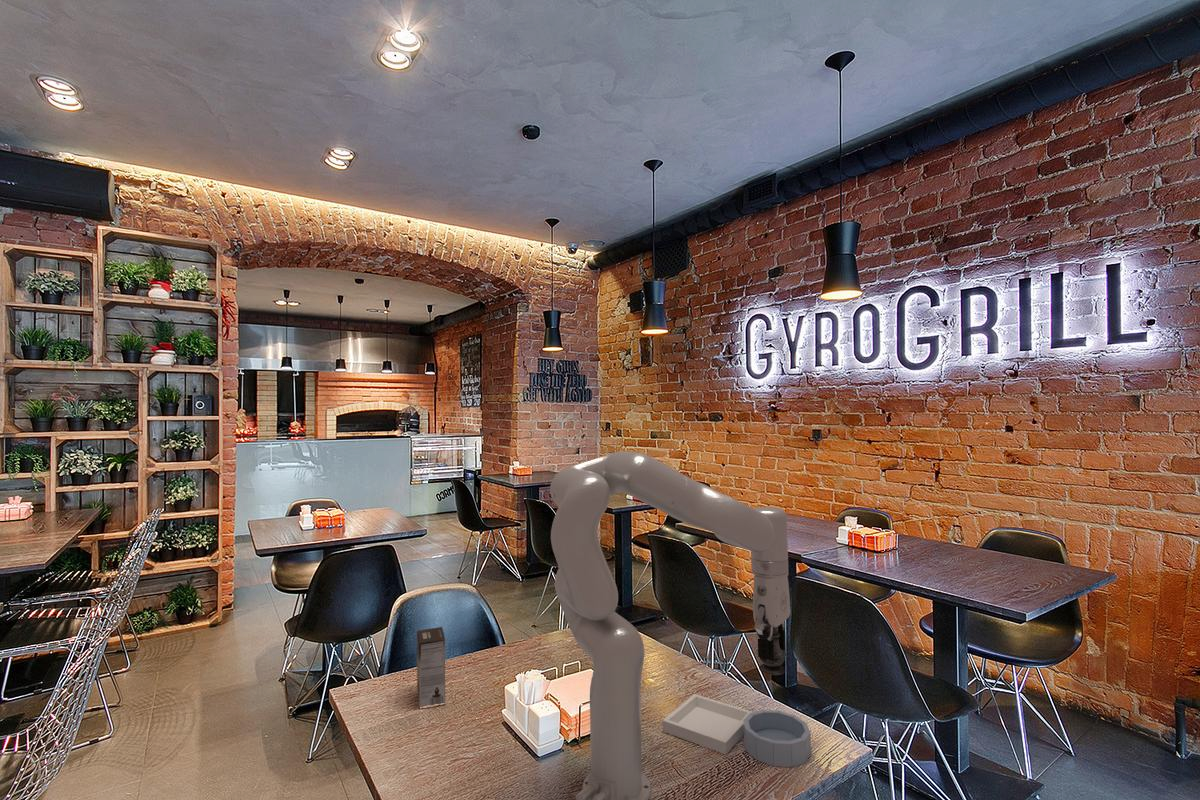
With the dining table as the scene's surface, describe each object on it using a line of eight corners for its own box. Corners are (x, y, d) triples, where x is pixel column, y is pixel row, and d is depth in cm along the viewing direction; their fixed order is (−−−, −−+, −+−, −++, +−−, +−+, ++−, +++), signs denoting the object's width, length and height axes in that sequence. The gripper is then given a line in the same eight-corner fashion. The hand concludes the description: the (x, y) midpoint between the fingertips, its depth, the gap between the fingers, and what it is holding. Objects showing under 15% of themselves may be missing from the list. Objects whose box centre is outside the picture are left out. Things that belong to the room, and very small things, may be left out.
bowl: (797, 774, 111) (797, 751, 111) (734, 752, 119) (734, 729, 119) (818, 743, 121) (817, 722, 121) (758, 724, 129) (758, 704, 129)
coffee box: (416, 693, 146) (416, 629, 147) (442, 689, 148) (442, 626, 149) (419, 710, 138) (418, 642, 138) (446, 705, 140) (446, 638, 140)
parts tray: (726, 755, 118) (725, 742, 118) (662, 731, 127) (662, 720, 127) (754, 723, 130) (754, 712, 130) (694, 704, 139) (694, 693, 139)
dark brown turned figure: (788, 676, 117) (787, 617, 118) (758, 674, 118) (757, 615, 119) (784, 664, 123) (783, 607, 124) (756, 662, 124) (755, 606, 125)
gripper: (772, 578, 112) (775, 672, 112) (800, 560, 126) (802, 643, 126) (736, 573, 117) (738, 663, 116) (766, 556, 131) (768, 636, 130)
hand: (771, 652), depth 121 cm, fingers closed on dark brown turned figure, 5 cm apart
